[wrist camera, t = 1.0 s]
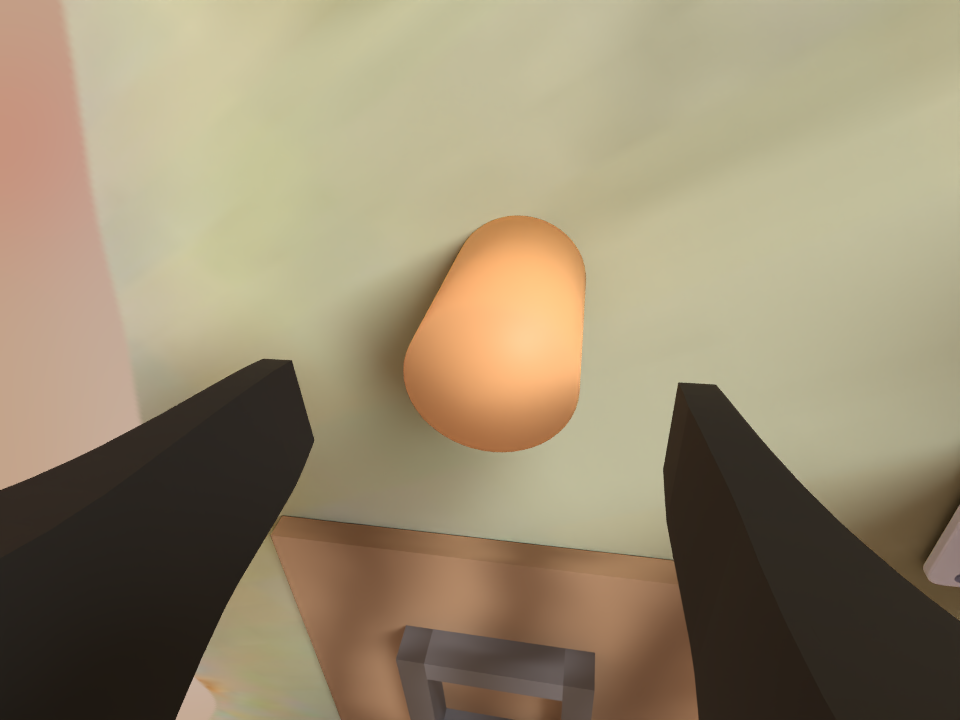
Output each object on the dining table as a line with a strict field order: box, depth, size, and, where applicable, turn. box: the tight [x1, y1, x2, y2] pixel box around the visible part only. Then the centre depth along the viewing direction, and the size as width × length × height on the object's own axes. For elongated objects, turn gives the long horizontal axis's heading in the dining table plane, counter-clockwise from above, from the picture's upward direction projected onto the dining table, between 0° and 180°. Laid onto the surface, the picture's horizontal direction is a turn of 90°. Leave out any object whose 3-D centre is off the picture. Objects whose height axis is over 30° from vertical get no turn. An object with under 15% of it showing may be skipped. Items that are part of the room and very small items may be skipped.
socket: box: [271, 516, 699, 720], centre depth 26 cm, size 18×18×2 cm
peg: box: [403, 216, 586, 452], centre depth 13 cm, size 4×4×5 cm
